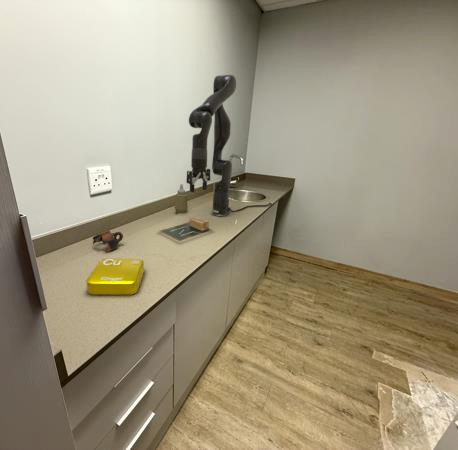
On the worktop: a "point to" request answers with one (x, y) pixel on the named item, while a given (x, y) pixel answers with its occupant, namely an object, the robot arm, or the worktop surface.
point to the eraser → (199, 224)
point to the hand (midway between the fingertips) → (198, 190)
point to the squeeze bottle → (181, 201)
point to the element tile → (116, 277)
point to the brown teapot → (108, 239)
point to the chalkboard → (181, 232)
